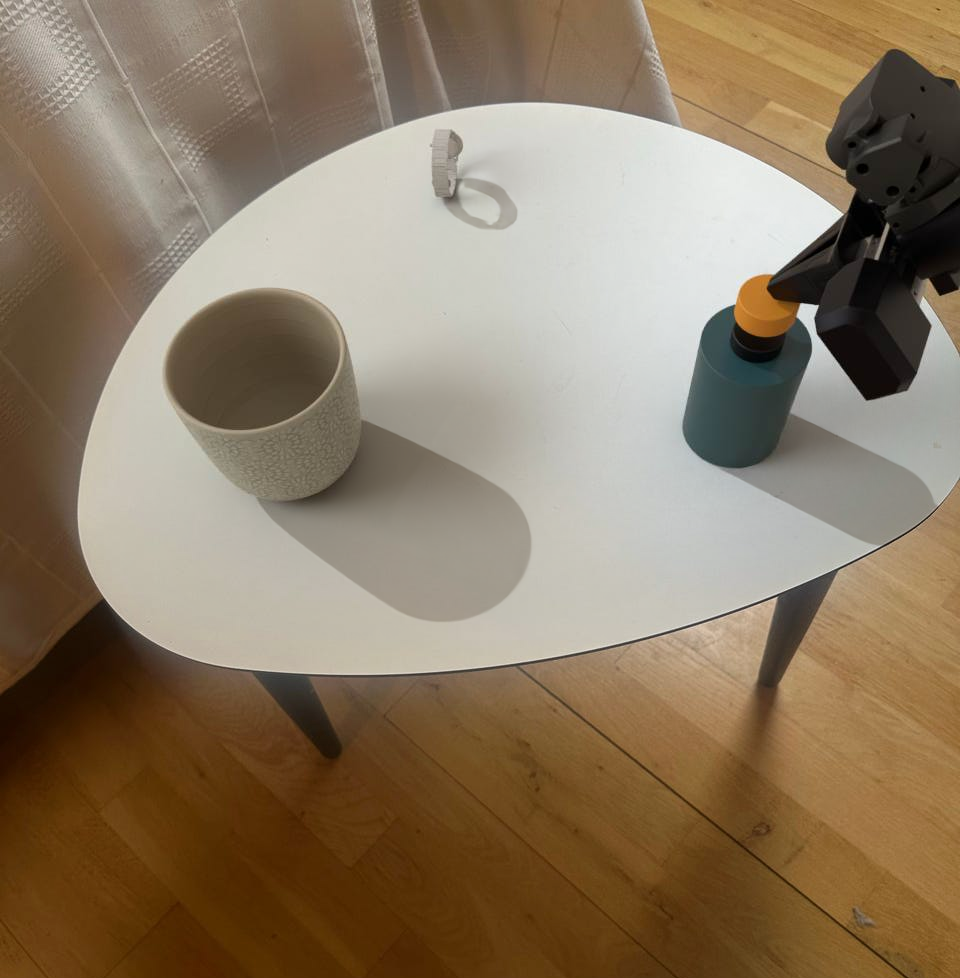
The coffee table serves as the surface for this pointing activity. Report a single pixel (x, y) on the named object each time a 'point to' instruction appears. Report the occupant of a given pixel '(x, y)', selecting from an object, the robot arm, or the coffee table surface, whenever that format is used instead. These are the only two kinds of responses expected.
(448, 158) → the wristwatch
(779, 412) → the bottle
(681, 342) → the coffee table surface
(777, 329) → the orange short cylinder
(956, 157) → the robot arm
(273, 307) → the planter
